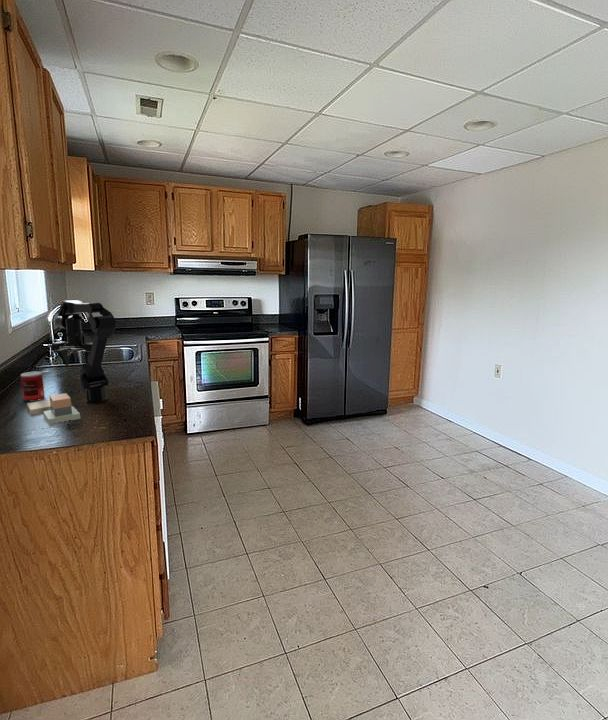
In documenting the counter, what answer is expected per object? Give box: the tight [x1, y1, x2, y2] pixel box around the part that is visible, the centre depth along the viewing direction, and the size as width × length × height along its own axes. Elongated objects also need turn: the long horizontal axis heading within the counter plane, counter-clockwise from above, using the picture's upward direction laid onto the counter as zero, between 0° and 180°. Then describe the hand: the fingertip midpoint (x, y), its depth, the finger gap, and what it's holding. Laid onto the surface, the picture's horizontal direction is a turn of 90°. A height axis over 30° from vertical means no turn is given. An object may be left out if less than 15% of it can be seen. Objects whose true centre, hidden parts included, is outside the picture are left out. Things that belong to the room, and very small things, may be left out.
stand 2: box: [42, 405, 81, 425], centre depth 155 cm, size 11×10×2 cm
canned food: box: [20, 371, 45, 401], centre depth 176 cm, size 8×8×11 cm
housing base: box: [50, 404, 72, 417], centre depth 154 cm, size 8×6×3 cm
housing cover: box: [48, 392, 72, 409], centre depth 153 cm, size 8×6×3 cm
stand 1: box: [26, 399, 51, 415], centre depth 164 cm, size 11×10×2 cm
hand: (77, 365), depth 181 cm, fingers open, 9 cm apart
